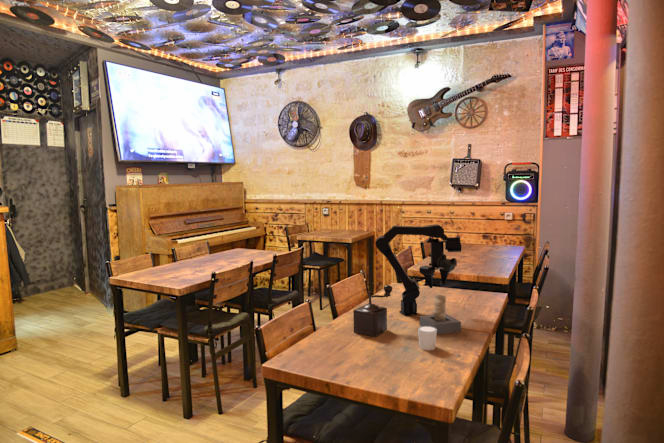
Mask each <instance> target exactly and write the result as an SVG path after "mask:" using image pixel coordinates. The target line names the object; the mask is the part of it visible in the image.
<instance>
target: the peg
mask: <svg viewBox="0 0 664 443" xmlns="http://www.w3.org/2000/svg"><path fill="white" fill-rule="evenodd" d="M433 298H434V307H433V308H434V310H433V311H434V312H433V313H434V320H435V321H436V322H442V321H445V314H446V296H445V295H444V294H443V295H441V294H436V295H434V297H433Z"/></svg>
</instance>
